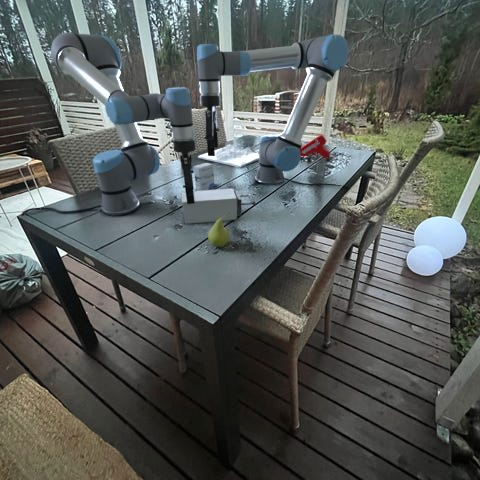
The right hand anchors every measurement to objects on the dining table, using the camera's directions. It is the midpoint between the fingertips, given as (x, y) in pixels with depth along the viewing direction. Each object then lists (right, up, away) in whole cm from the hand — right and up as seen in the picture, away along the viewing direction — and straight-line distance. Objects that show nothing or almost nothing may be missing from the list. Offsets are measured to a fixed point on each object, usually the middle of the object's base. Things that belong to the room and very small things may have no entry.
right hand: (213, 151), depth 114 cm
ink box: (-6, -12, +22) cm, 25 cm away
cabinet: (-1, -27, -3) cm, 28 cm away
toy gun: (+59, +16, +64) cm, 89 cm away
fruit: (+4, -39, -21) cm, 45 cm away
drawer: (+4, -26, -3) cm, 27 cm away
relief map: (+5, +18, +67) cm, 69 cm away
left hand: (-8, -20, -9) cm, 24 cm away
